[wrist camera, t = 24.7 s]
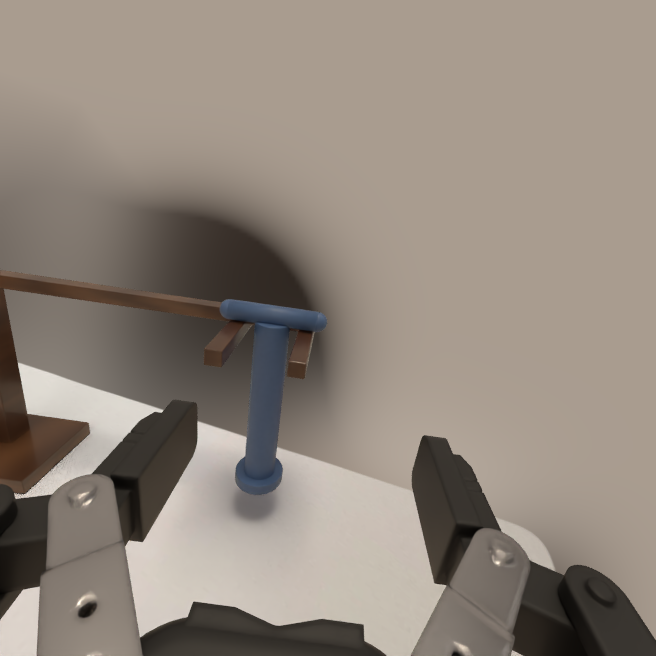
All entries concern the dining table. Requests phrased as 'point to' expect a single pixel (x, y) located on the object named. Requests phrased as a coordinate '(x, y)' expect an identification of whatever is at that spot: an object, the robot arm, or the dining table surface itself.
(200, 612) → the robot arm
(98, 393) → the dining table surface
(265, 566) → the dining table surface
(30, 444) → the stand
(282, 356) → the peg
